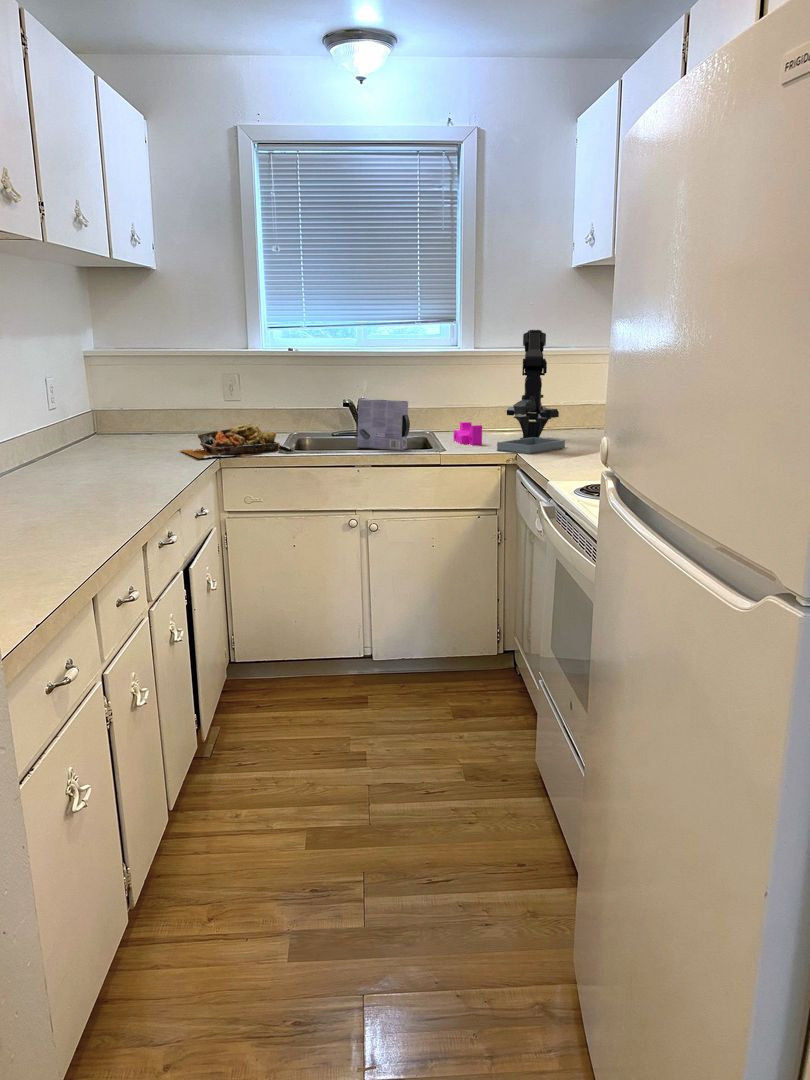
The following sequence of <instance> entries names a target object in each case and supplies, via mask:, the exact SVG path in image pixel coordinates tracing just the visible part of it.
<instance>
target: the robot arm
mask: <svg viewBox="0 0 810 1080" xmlns="http://www.w3.org/2000/svg"><path fill="white" fill-rule="evenodd" d="M546 342H547V333H545V332H543V331H542V330H541V329H530V330H527V332H525V333H523V335H522V346H523V347H524V352H525V355H524V358H522V370H521V371H522V374H521V375H522V376H526V377H525V379H524V394H523V395H521V400H519V401H517V402H516V403H515V404H513V406H508V407H507V409H506V416H513V419H516V420H517V421H518V423H519V425H520V428H521V431H522V437H519V439H524V438H531V437H535V438H541V437H540V436H541V435H542V432H543V430H544V428H545V426H546V424H547V423H548V421H549V420H551V419H552V418H553V419H554V418H560V417H559V416H560V412H559V411H558V408H544V407H543V405H542V399H543V398H544V394H542V387H543V383H542V381H543V379H542V376H546V374H547V370H548V369H547V368H548V367H547V366H548V364H547V363H548V362H547V360H546V358H544V353H543V352H544V349H545V348H544V347H546V345H547V343H546Z"/></svg>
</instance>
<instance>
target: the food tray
mask: <svg viewBox="0 0 810 1080" xmlns="http://www.w3.org/2000/svg"><path fill="white" fill-rule="evenodd" d="M276 437H277V432H275V431H268V432H267V433H266V431H264V430H261V429H260V427H259V426H255V427H254V426H253V424H252V423H251V422H249V423H245V424H240V425H236V426H232V427H230V428H228V429H227V428H226V429H221V430H220V429H219V430H216V431H210V432H204V433H200V434H199V433H197V438H198V439H199V441H200V443H199V444H200V446H201V447H202V448H197V449H196V450H194V451H193V449H180V450H179V451H180V452H183V453H184V454H185V453H186V454H187V455H190V456H192V457H195V458H197V459H207V458H213V457H220V458H222V457H223V458H225V457H234V456H235V457H244V456H246V457H247V456H261V455H265V454H269V453H276V452H280V451H281V450H284V451H286V452H291V451H295V449H296V448H295V446H296V444H295V443H293V444H292V446H291V447H289V446H286V445H282V444H280V442H279V441H278V442H277V441H275V440H276ZM201 449H204V450H201Z"/></svg>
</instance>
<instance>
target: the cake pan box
mask: <svg viewBox="0 0 810 1080" xmlns="http://www.w3.org/2000/svg"><path fill="white" fill-rule="evenodd" d="M357 404H358V405H357V406H358V407H357V408H358V410H357V411H358V412H357V414H358V416H357V417H358V418H357V448H360V449H361V448H362V449H374V450H391V451H393V450H394V451H404V450H407V449H408V446H407V445H408V435H409V433H410V426H411V424H410V423H411V421H410V417H409V401H408V400H394V399H393V400H392V399H375V398H372V399H371V398H358V403H357Z"/></svg>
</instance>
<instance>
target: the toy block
mask: <svg viewBox="0 0 810 1080" xmlns="http://www.w3.org/2000/svg"><path fill="white" fill-rule="evenodd" d="M455 441H456V442H455ZM453 442H455V443H457V442H458V443H457V444H459V443H460V445H462V444H464V445H469V444H470V445H469V446H471V445H478V446H483V425H481V424H474V425H472V422H471V421H470V422H469V421H463V422H462V421H461V422H459V429H455V430H453Z"/></svg>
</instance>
